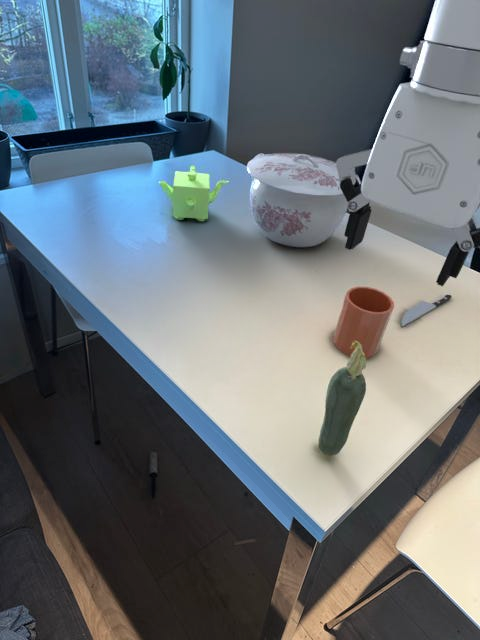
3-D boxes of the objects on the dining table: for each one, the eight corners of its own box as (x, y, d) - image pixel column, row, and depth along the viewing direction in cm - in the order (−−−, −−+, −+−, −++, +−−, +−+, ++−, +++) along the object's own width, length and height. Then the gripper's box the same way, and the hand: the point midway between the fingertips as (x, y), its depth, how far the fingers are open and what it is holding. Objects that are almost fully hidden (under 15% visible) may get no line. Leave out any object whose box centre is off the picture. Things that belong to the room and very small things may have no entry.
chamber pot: (354, 265, 107) (379, 181, 94) (240, 256, 105) (250, 168, 92) (333, 216, 129) (351, 142, 117) (239, 208, 127) (246, 132, 115)
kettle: (191, 199, 129) (193, 159, 122) (228, 216, 122) (232, 175, 116) (151, 212, 119) (151, 170, 112) (189, 231, 112) (191, 188, 106)
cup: (384, 343, 84) (401, 300, 78) (365, 365, 78) (382, 320, 72) (345, 324, 88) (359, 281, 82) (325, 343, 82) (337, 299, 76)
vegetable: (341, 471, 61) (384, 362, 49) (309, 468, 60) (345, 359, 48) (336, 444, 64) (375, 337, 52) (306, 441, 64) (339, 333, 52)
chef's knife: (389, 320, 90) (401, 327, 88) (390, 316, 90) (403, 323, 88) (439, 293, 101) (452, 299, 99) (441, 289, 100) (453, 294, 98)
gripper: (345, 57, 37) (305, 244, 47) (583, 103, 29) (474, 312, 40) (379, 53, 42) (336, 223, 52) (589, 92, 34) (491, 280, 45)
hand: (396, 261), depth 46 cm, fingers open, 9 cm apart
